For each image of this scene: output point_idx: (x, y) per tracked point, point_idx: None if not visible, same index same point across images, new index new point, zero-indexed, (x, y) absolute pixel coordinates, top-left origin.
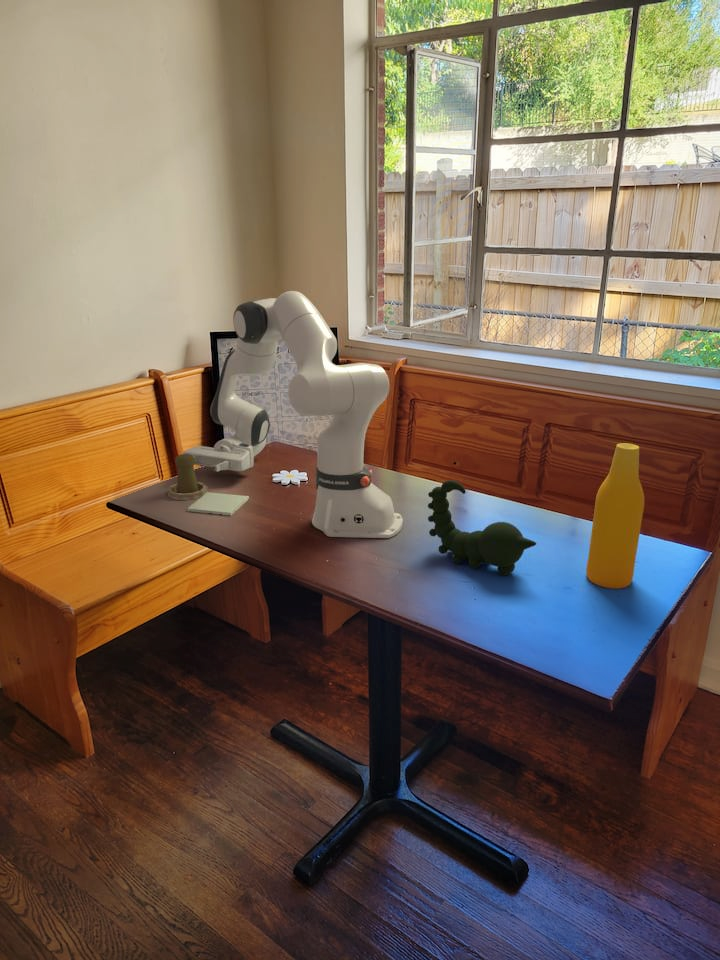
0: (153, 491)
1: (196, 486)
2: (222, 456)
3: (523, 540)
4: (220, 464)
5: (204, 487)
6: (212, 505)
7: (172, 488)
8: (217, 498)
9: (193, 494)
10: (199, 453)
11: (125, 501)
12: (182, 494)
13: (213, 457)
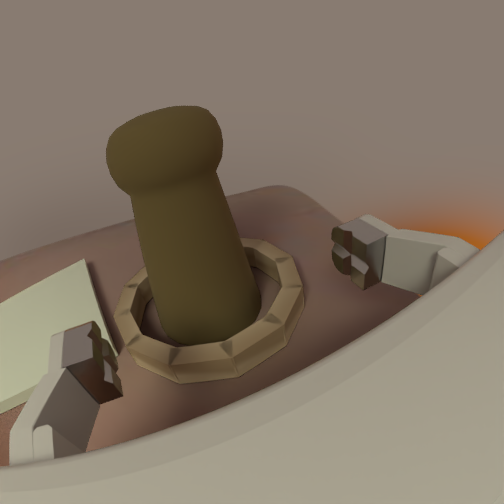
0: (317, 234)
1: (156, 301)
2: (100, 481)
3: None
4: (48, 375)
5: (141, 340)
6: (32, 305)
7: (259, 255)
8: (42, 340)
9: (126, 286)
10: (468, 276)
11: (278, 192)
12: None
13: (242, 399)
